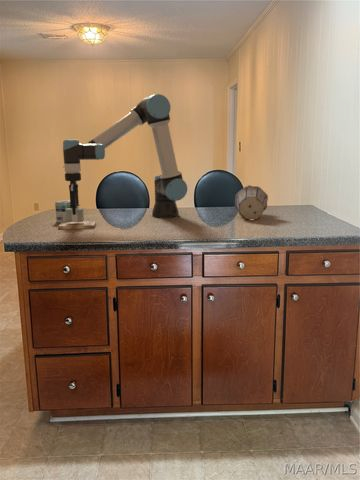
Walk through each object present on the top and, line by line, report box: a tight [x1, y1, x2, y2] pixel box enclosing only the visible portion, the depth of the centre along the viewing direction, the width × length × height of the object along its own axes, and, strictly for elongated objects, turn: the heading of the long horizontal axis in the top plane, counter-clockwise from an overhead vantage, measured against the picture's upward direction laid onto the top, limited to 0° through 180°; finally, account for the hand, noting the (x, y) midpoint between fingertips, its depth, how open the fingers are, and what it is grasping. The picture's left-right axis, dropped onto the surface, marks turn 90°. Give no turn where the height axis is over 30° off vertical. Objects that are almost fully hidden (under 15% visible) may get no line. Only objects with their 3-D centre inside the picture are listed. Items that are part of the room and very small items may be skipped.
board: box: [57, 220, 97, 230], centre depth 205 cm, size 17×11×2 cm, turn 97°
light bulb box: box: [54, 199, 70, 223], centre depth 220 cm, size 11×7×11 cm, turn 168°
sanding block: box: [65, 207, 85, 222], centre depth 203 cm, size 8×5×6 cm, turn 97°
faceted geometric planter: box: [234, 184, 269, 220], centre depth 229 cm, size 18×18×30 cm
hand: (75, 219), depth 204 cm, fingers closed on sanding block, 5 cm apart
